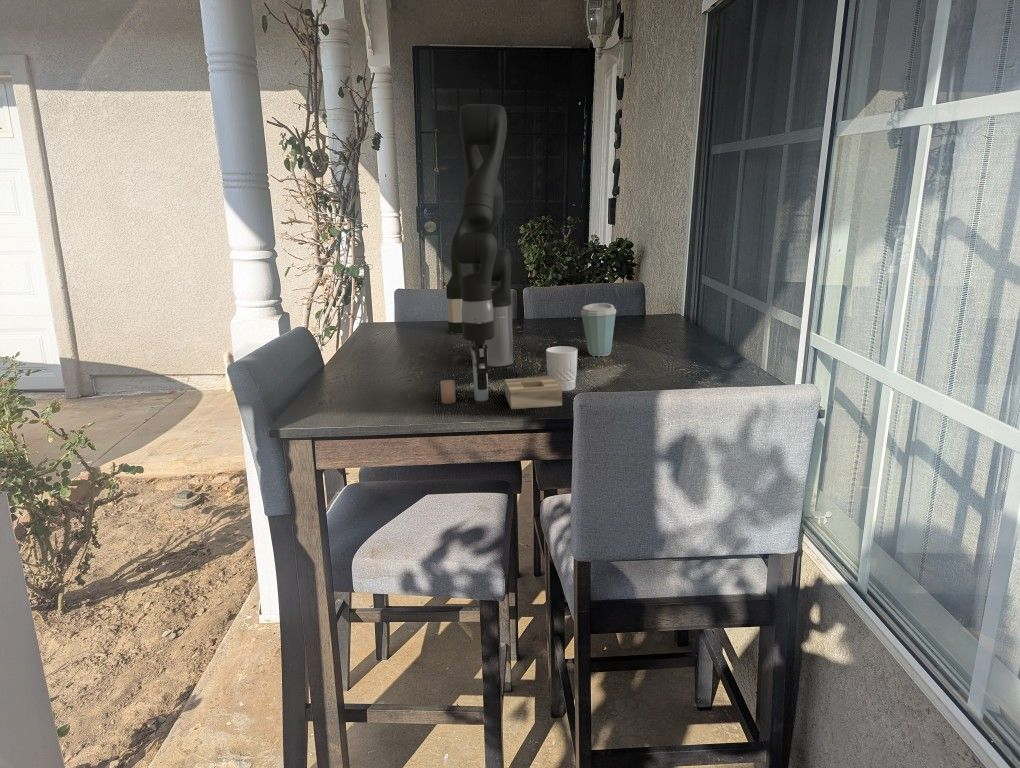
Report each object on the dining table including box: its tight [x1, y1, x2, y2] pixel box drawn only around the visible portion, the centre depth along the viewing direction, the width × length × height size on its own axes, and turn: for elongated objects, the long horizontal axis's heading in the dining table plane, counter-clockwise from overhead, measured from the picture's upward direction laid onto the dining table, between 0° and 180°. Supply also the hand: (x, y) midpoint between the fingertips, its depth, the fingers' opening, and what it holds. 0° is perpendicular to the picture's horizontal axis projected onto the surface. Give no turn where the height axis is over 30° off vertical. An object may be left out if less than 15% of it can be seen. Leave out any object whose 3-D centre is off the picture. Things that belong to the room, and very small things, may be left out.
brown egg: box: [440, 379, 457, 405], centre depth 172 cm, size 3×3×5 cm
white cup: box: [545, 345, 579, 392], centre depth 179 cm, size 8×8×10 cm
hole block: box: [504, 376, 563, 410], centre depth 171 cm, size 12×12×4 cm
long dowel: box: [472, 361, 490, 402], centre depth 172 cm, size 3×3×10 cm
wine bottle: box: [445, 252, 464, 333], centre depth 254 cm, size 8×8×30 cm
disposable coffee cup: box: [580, 302, 617, 358], centre depth 213 cm, size 11×11×15 cm
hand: (480, 384), depth 173 cm, fingers open, 8 cm apart
